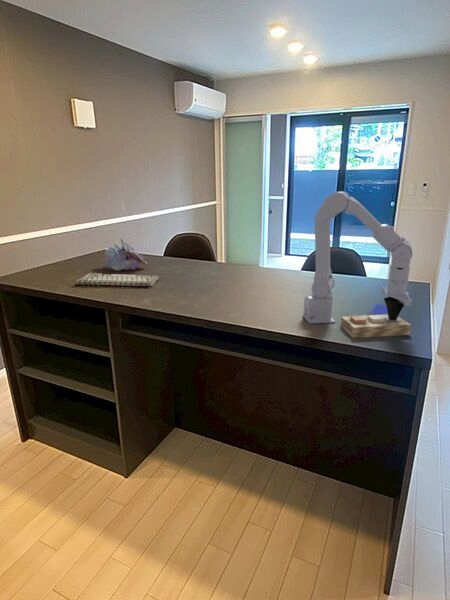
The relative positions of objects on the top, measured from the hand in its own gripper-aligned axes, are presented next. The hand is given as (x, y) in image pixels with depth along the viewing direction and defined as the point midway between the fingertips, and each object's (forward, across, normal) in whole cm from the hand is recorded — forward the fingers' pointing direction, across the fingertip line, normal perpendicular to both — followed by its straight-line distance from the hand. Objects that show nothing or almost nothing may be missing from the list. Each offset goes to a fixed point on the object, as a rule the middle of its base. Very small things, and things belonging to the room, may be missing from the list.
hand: (392, 319), depth 127 cm
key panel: (+3, 0, +6) cm, 7 cm away
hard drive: (+4, +16, -6) cm, 18 cm away
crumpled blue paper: (+4, +102, +99) cm, 142 cm away
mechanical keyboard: (+4, +72, +99) cm, 123 cm away
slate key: (+2, 0, 0) cm, 2 cm away
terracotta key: (+1, 0, +12) cm, 12 cm away
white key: (+1, 0, +6) cm, 6 cm away
